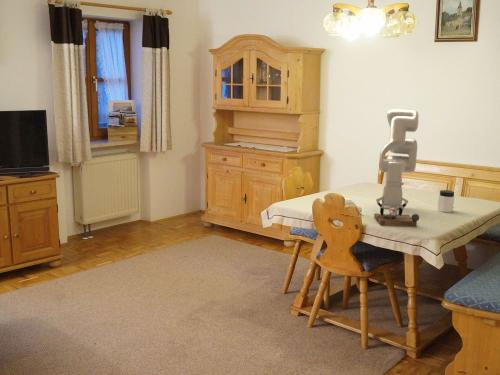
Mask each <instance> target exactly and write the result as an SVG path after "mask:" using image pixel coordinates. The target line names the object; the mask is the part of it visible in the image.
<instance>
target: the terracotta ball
mask: <svg viewBox="0 0 500 375" xmlns="http://www.w3.org/2000/svg"><path fill="white" fill-rule="evenodd" d="M391 211H396V213H397V214H398V209H395V208H391V209H389V213H390V212H391Z"/></svg>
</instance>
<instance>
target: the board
mask: <svg viewBox="0 0 500 375" xmlns="http://www.w3.org/2000/svg"><path fill="white" fill-rule="evenodd" d="M373 215H374V216H373V219H374V218H375V219H376V220H375V219H374V220H375V221H376V222H377V223H378V224H379V225H380V226H389V227H390V226H391V227H415V228H417V224H418V221H413V220H412V216H411V215H410V214H401V216H399V215H398V213H397V216H396V217H395V218H391V217H390V215H389V213H384V214H383V215H381V214H380V213H374V214H373Z"/></svg>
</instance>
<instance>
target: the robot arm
mask: <svg viewBox="0 0 500 375" xmlns="http://www.w3.org/2000/svg"><path fill="white" fill-rule="evenodd" d="M386 119H387V122H388V126H389V129H390V130H389V140H388V142H387V143H386V144H385V145H384V146H383V147H382V148H381V150H380V153H379V161H378V169H379V171H380V172H382V173H385V182H384V183H385V185H384V187H383V190H382V191H383V192H382V196H381V197H379V198H378V197H377V198H376V199H375V202H376V204H377V205H378V207H379V208H380V209H379V214H381V215H383V214H385V213H384V212H385V209H388V210H390V209H391V208H395V209H396V210H398V212H397V214H398V215H399V216H401V215H403V210H404V208H405V207H406V206H407V205H408V203H409V200H408V199H406V198H404V197H403V189H402V188H403V187H402V186H403V185H404V181H403V179H402V174H403V173H409V174H410V173H413V172H415V170H416V169H417V168H416V167H417V166H416V165H417V157H418V156H417V155H418V141H417V140H416V139H415V138H411V137H410V138H409V137H406V136H407V135H406V134H407V132H413V133H414V132H416V131H417V130H418V127H419V112H418V111H417V110H414V109H401V108H400V109H398V108H397V109H396V108H394V109H389V110H388V111H387V113H386ZM388 152H390V153H392V154H393V155H389V156H387V157H386V154H387V153H388ZM394 154H396V155H394ZM397 154H399V155H397ZM406 155H408V156H406ZM380 201H381V203H380ZM403 202H404V203H403Z"/></svg>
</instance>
